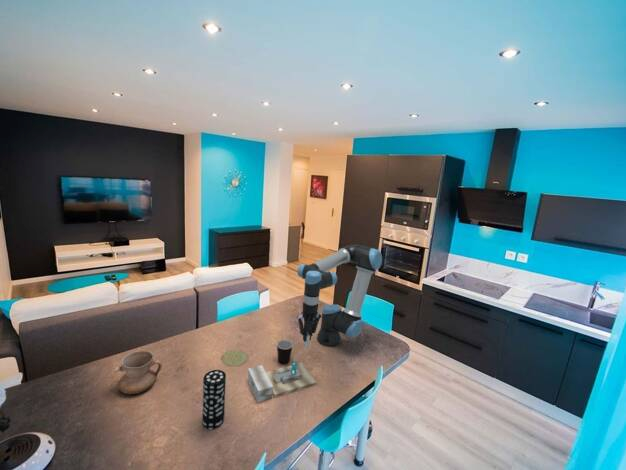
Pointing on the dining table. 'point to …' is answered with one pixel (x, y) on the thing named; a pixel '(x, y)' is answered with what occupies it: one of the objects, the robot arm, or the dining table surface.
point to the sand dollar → (234, 358)
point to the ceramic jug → (137, 372)
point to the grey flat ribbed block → (268, 388)
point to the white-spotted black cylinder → (213, 399)
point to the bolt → (287, 373)
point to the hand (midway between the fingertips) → (306, 346)
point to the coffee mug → (284, 351)
